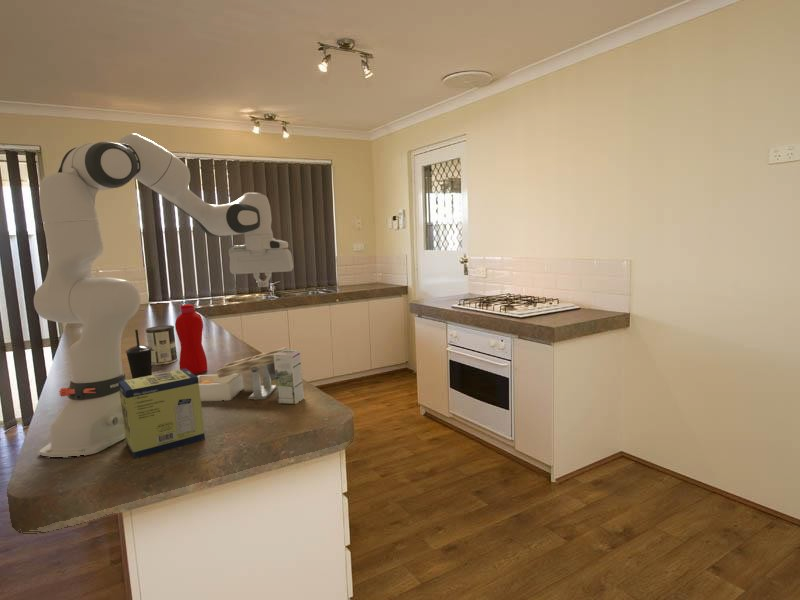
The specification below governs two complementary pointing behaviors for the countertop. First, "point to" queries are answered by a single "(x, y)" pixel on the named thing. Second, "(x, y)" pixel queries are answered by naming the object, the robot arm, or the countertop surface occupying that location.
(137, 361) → the drinking cup
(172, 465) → the countertop surface
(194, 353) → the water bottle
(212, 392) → the white open tray
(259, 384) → the pivot stand
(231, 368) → the lever
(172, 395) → the protein box
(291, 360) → the syrup box
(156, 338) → the coffee can
